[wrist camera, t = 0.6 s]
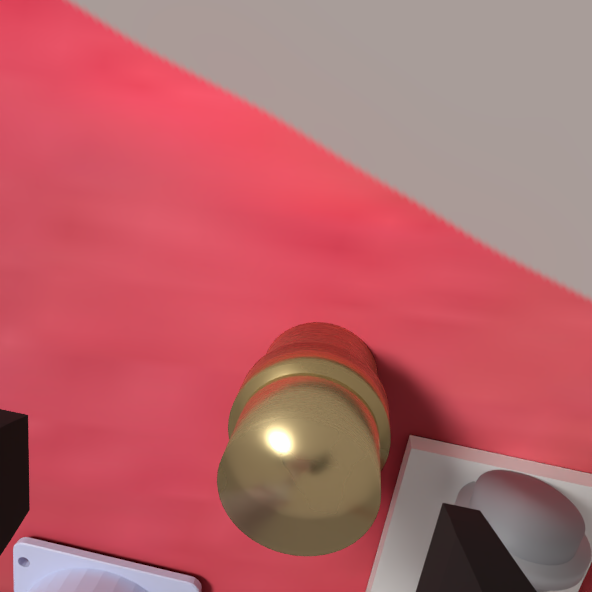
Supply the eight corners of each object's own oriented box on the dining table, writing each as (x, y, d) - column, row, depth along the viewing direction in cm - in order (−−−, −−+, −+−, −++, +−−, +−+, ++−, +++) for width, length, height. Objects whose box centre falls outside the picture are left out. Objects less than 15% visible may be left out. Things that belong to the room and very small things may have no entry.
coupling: (370, 445, 19) (371, 583, 14) (245, 418, 20) (196, 542, 14) (400, 329, 18) (414, 431, 12) (264, 301, 18) (216, 388, 13)
